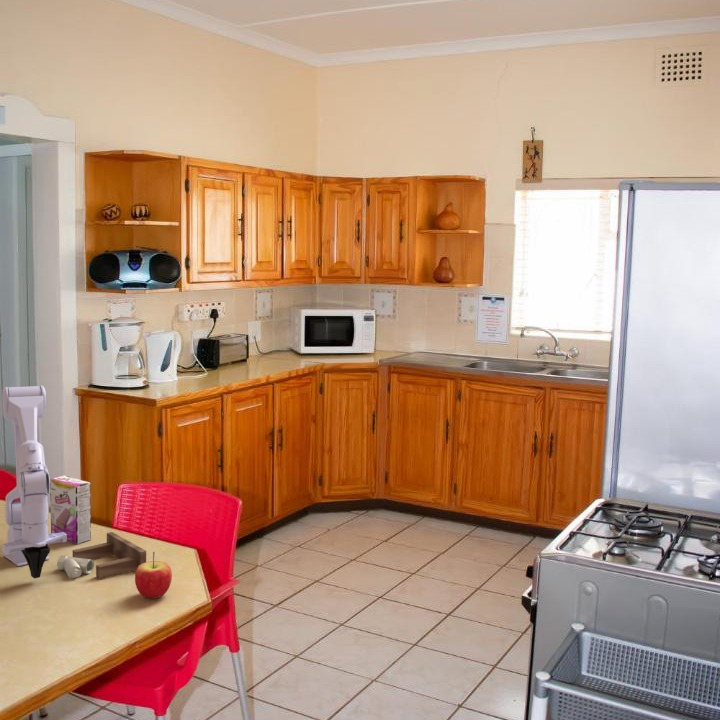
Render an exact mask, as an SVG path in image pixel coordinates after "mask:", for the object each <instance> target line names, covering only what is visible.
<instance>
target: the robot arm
mask: <svg viewBox="0 0 720 720" xmlns="http://www.w3.org/2000/svg"><path fill="white" fill-rule="evenodd" d="M1 393H2V394H1V395H2V397H1V398H2V399H1V400H2V415H3V418H4V420H6V421H8V422H11V424H12V427H13V431H14V447H15V449H14V452H15V473H16V474H15V475H16V476H15V477H16V486H15V487H14V488H13V489H12V490H10V491H9V492H8V493H7V494H6V496H5V504H4V505H5V506H4V508H5V509H4V513H5V514H4V515H5V524H6V525H8V526H9V527H8V529H7V536H6V537H7V538H6V539H7V543H4V544H2V546H1V547H2V548H1V549H2V554H3V557H5V558H7V559H8V560H9V561H11V562H12V563H13V564H14V565H16V566H17V567H21V566H25V565H28V568H29V572H30V576H31V577H32V578H33V579H37V578H41V574H42V570H43V567H44V564H45V561H47V560H48V561H49V559H50V557H49V556H48V555H49V554H50V551H51V547H50V546H49V545H52V544H58V543H67V542H68V541H67V534H65V533H64V532H61V533H53V534H51V533H49V527H48V526H49V523H48V522H49V512H50V511H49V501H48V499H49V498H48V495H49V494H50V479H51V477H50V473H49V470H48V466H47V465H46V459H45V452H44V451H45V449H44V446H43V444H41V443H40V442H39V441H38V420H39V419H41V418H42V417H43V415H44V414H45V410H46V408H47V407H46V406H47V393H46V388H45V387H44V385H35V386H34V385H33V386H29V385H28V386H4V388H2V391H1Z"/></svg>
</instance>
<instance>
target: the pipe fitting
mask: <svg viewBox="0 0 720 720" xmlns="http://www.w3.org/2000/svg"><path fill="white" fill-rule="evenodd" d="M56 566H57V570H59V571H65V573H66V575H67V576H68V578H69V579H71V580H72V579H77V578H79V577H81V575H82V574H86V575H89V574H91V573H92V572H93V570H94V566H95V562H94V560H91V559H82V558H75V557H73V556H67V555H62V554H61V555H60V556H59V558H58V560H57V563H56Z"/></svg>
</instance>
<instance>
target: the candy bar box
mask: <svg viewBox="0 0 720 720" xmlns="http://www.w3.org/2000/svg"><path fill="white" fill-rule="evenodd" d="M49 494H50V534H53V533H61V532H64V533H65V534H67V542H69V543H73V544H75V545H81V544H84V543H86V542H89V541H91V540H92V525H91V524H92V521H91V520H92V519H91V518H92V516H91V515H92V514H91V510H92V509H91V508H92V507H91V506H92V505H91V482H89V481H87V480H82V479H79V478H75V477H71V476H68V475H61V476H56V477H50V491H49Z"/></svg>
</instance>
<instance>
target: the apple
mask: <svg viewBox="0 0 720 720" xmlns="http://www.w3.org/2000/svg"><path fill="white" fill-rule="evenodd" d="M172 572H173V571H172V568H171V566H170V565H169V564H168V563H167V562H164V561H158V560H155V551H153V552H152V560H151V561H150V560H149V561H146V562H145V563H142V564H141V565H139V566H138V568H137V570H135V574H134V583H135V586H136V587H135V588H136V589H137V591H138V593H139V595H141V596H142V597H144V598H147V599H157V598H160V597H163V596H164V595H166V593H167V592H168V590H169V589H170V586H171V585H172V580H173V579H172V578H173V573H172Z"/></svg>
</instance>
